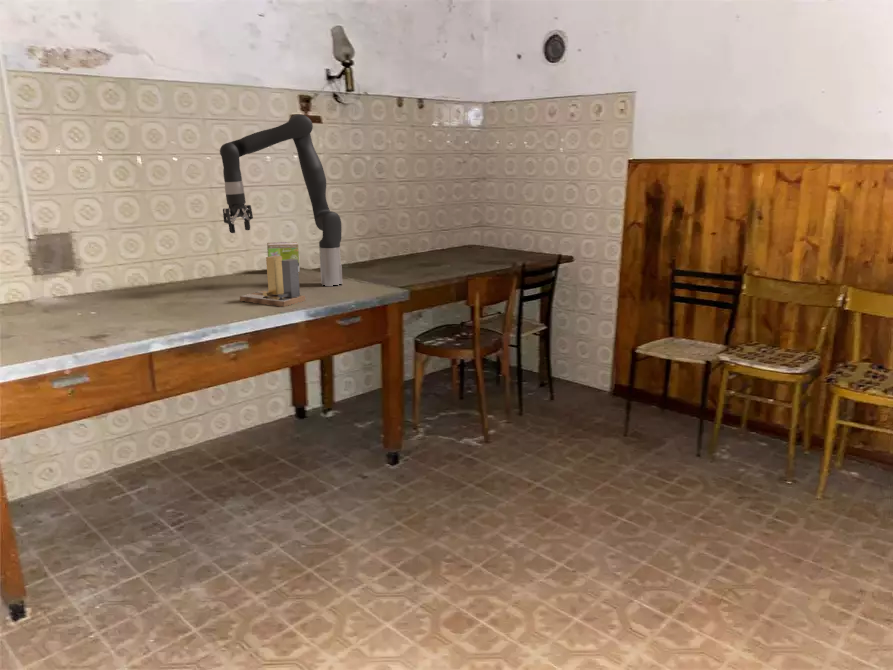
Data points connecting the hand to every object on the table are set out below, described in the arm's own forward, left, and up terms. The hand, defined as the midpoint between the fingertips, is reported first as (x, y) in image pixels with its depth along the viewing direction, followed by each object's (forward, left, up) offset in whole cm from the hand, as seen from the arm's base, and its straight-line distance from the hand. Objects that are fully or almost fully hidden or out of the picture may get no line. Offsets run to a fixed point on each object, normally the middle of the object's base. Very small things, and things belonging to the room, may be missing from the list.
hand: (240, 231), depth 286 cm
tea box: (-20, -47, -27) cm, 58 cm away
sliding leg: (-10, +22, -24) cm, 34 cm away
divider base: (-10, +22, -26) cm, 36 cm away
